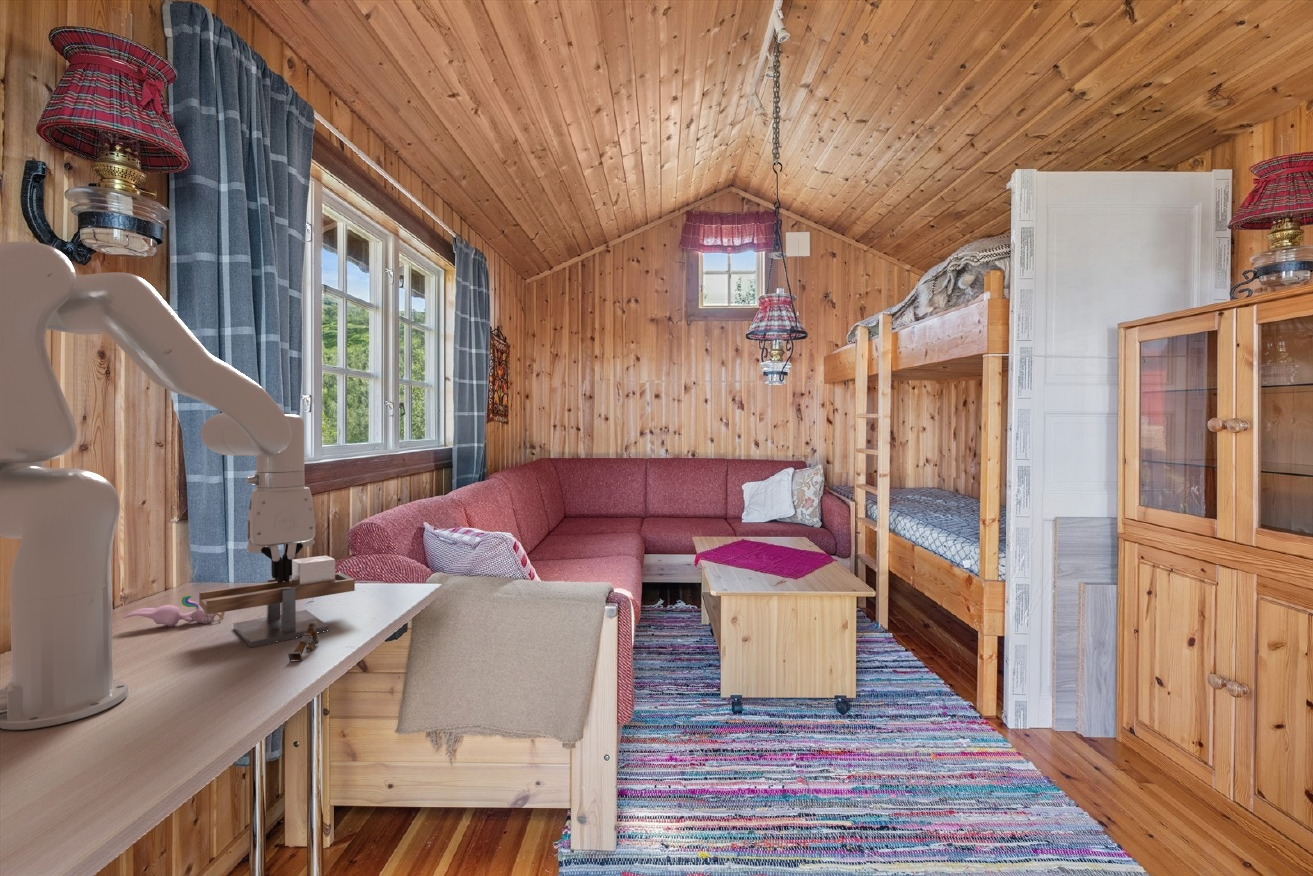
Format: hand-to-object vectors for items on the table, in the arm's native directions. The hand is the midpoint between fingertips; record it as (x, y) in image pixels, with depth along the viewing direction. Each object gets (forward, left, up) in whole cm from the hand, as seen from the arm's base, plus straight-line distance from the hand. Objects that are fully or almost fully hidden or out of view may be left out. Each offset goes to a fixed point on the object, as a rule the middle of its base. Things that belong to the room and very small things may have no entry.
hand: (282, 580), depth 111 cm
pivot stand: (0, 0, -9) cm, 9 cm away
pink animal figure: (-14, +17, -9) cm, 24 cm away
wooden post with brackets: (-1, -16, -9) cm, 19 cm away
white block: (+5, 0, -2) cm, 6 cm away
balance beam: (0, 0, -3) cm, 3 cm away
